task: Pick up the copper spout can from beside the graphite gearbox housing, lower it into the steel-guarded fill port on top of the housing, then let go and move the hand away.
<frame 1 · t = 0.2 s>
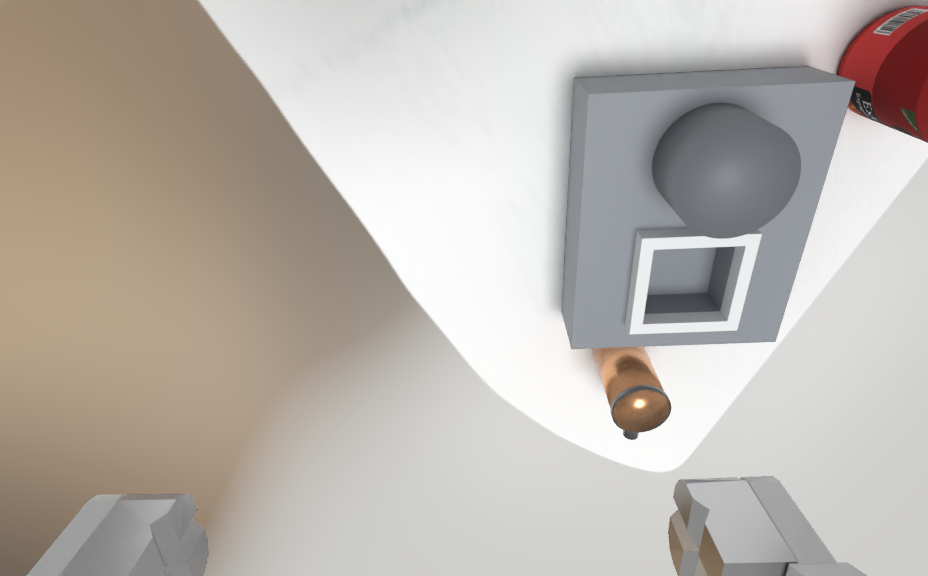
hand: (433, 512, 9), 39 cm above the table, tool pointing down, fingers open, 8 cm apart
canned food: (885, 61, 42), on the table
gearbox housing: (669, 204, 48), on the table
spout can: (617, 349, 56), on the table
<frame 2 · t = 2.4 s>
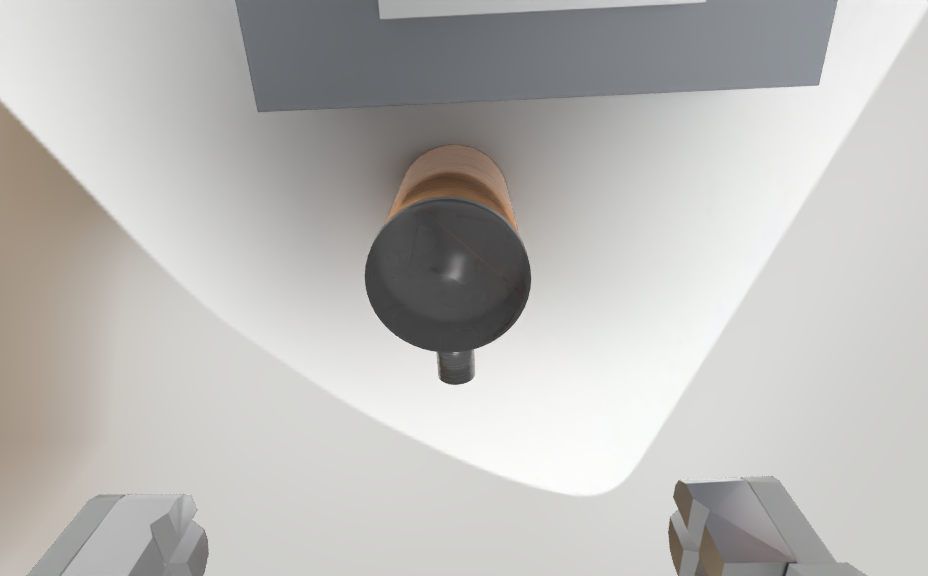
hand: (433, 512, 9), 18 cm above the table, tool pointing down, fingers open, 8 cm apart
spout can: (454, 199, 25), on the table
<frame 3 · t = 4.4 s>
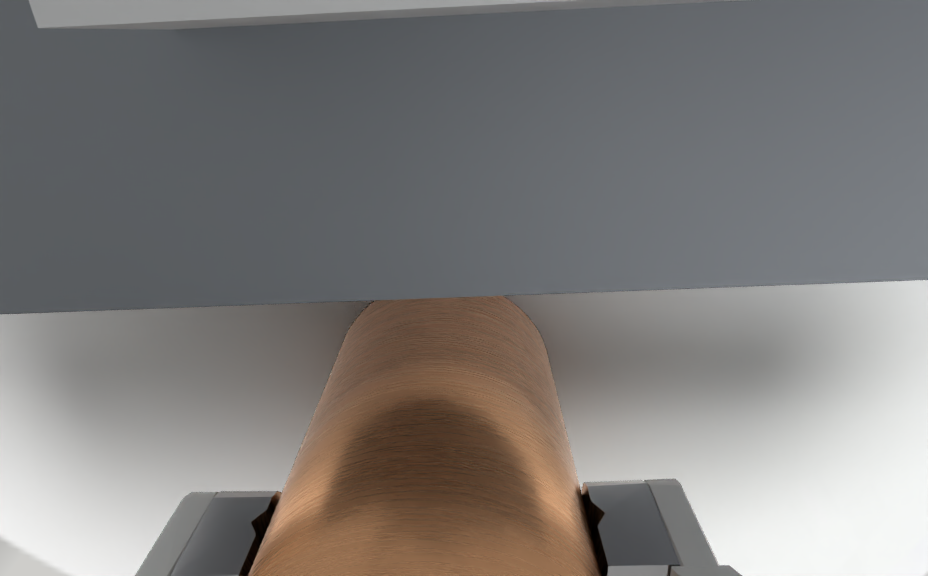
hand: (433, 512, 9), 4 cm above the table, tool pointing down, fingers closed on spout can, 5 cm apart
spout can: (444, 375, 13), on the table, touching gripper
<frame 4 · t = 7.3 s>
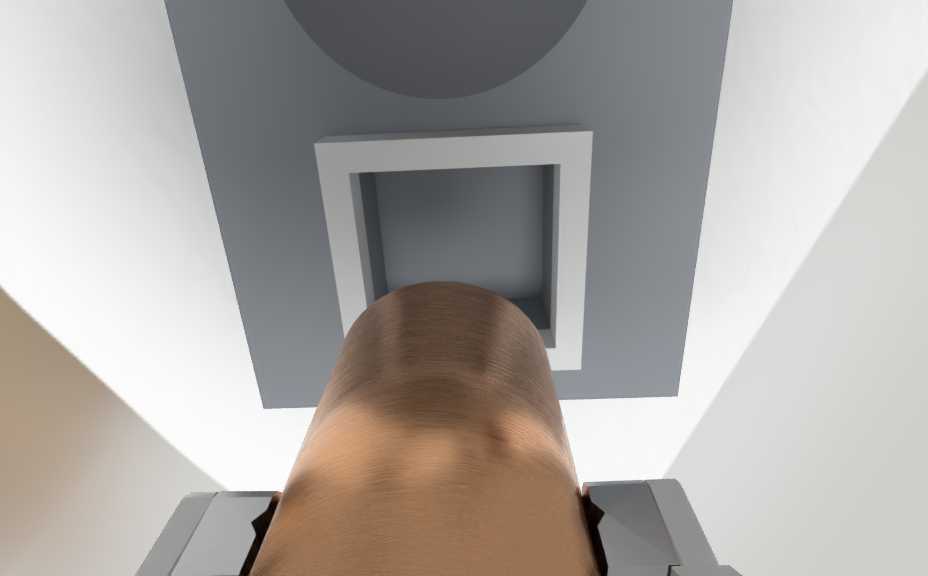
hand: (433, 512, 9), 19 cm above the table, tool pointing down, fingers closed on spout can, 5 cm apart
gearbox housing: (458, 121, 25), on the table
spout can: (444, 376, 13), point 15 cm above the table, touching gripper
when the fingers open (9 cm above the table, at t = 10.5 s): spout can drops 2 cm, resting on gearbox housing.
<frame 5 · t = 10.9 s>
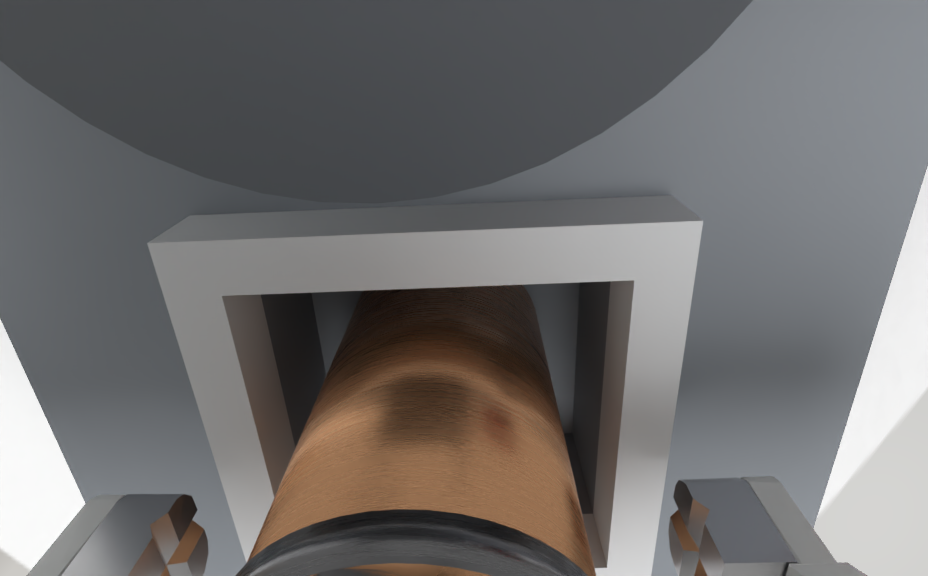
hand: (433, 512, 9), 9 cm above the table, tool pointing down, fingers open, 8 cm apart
gearbox housing: (443, 162, 16), on the table
spout can: (445, 333, 15), point 3 cm above the table, touching gearbox housing
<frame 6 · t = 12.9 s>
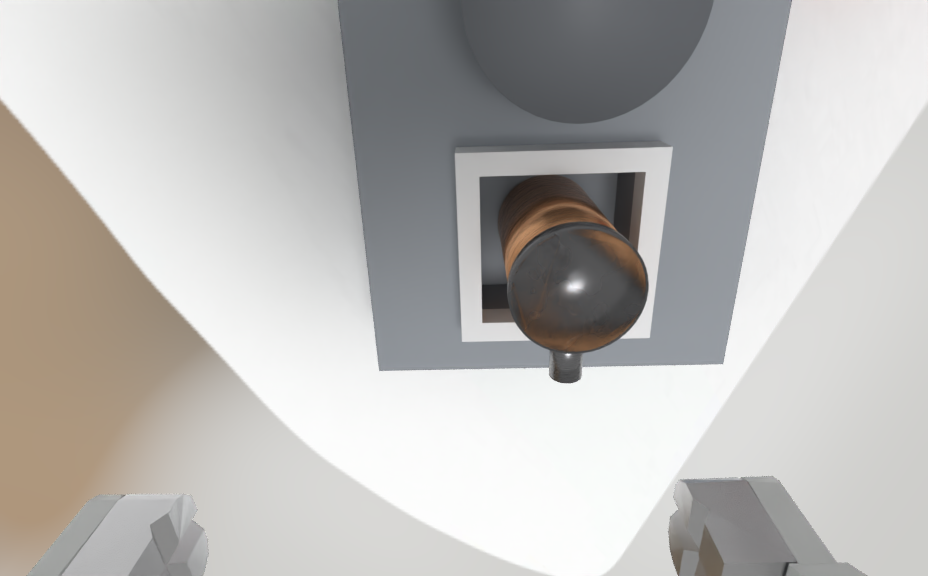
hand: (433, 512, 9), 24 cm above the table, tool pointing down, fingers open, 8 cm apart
gearbox housing: (541, 135, 30), on the table
spout can: (545, 222, 28), point 3 cm above the table, touching gearbox housing
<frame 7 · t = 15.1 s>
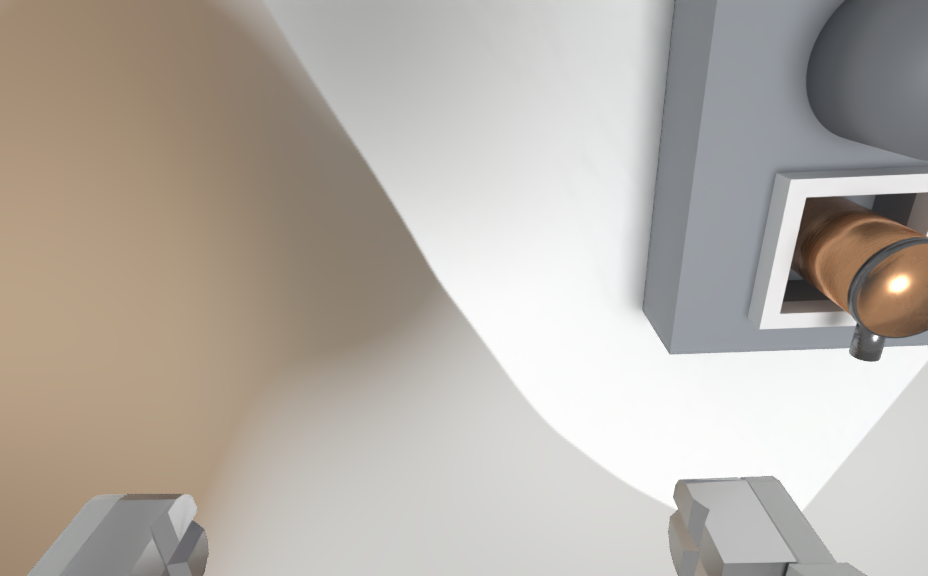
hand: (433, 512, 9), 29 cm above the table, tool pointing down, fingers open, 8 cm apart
gearbox housing: (797, 155, 35), on the table
spout can: (810, 229, 34), point 3 cm above the table, touching gearbox housing
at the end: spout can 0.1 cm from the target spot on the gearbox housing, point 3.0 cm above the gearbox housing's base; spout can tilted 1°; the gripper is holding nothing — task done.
